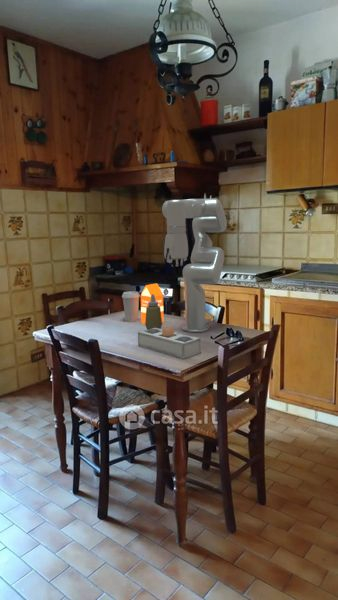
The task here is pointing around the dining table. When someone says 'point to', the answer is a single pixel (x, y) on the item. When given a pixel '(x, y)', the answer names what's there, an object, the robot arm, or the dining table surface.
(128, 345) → the dining table surface
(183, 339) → the knob
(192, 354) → the grey rectangular box
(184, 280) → the robot arm
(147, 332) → the knob
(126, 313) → the coffee cup
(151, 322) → the squeeze bottle
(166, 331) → the middle knob
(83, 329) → the dining table surface
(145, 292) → the orange juice
